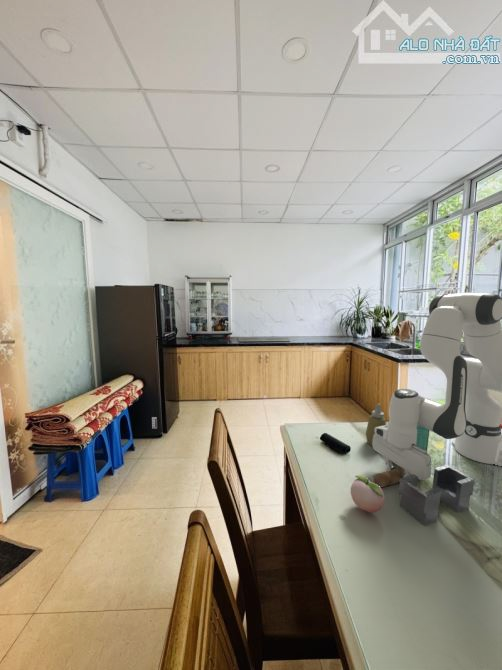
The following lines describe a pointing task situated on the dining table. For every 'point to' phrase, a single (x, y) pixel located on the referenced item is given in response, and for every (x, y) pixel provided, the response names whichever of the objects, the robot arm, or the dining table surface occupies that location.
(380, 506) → the decorative fruit
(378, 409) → the squeeze bottle
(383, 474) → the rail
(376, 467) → the dining table surface
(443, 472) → the bracket
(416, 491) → the bracket
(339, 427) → the dining table surface
